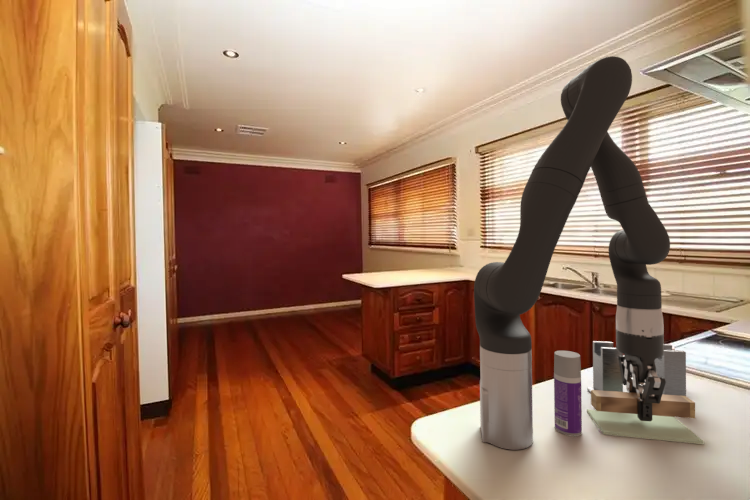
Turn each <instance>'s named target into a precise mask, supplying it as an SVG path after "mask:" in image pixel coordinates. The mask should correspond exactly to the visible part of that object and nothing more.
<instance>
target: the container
mask: <svg viewBox="0 0 750 500" xmlns="http://www.w3.org/2000/svg"><path fill="white" fill-rule="evenodd" d="M553 353H554V355H553V356H554V358H553V359H554V361H553V363H554V364H553V365H554V366H553V371H554V372H553V396H554V398H553V399H554V400H553V403H554V409H553V410H554V428H555V430H556V431H557V432H559V433H560V434H562V435H566V436H568V437H579V436H580V435H582V432H583V422H582V420H583V417H582V414H583V413H582V412H583V411H582V405H583V404H582V369H581V368H582V367H581V364H582V363H581V355H580V354H579V353H578V352H576V351H575V352H574V351H570V350H556V351H554V352H553Z"/></svg>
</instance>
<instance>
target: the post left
mask: <svg viewBox="0 0 750 500" xmlns="http://www.w3.org/2000/svg"><path fill="white" fill-rule="evenodd" d="M618 356H624V354H623V353H621V352H619V351H618V350H617V348H616V347H614V342H612V341H604V340H603V341H602V340H601V341H600V340H598V341H597V340H593V341H592V373H593V374H592V377H593V378H592V380H593V381H592V384H593V385H592V387H588V386H587V388H586V389H587V391H588V393H590V394H591V390H601V391H617V392H624V385H623V383H622V377H621V371H620V366H619V360H618Z"/></svg>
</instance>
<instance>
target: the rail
mask: <svg viewBox="0 0 750 500" xmlns="http://www.w3.org/2000/svg"><path fill="white" fill-rule="evenodd" d="M642 394H643V392H642ZM637 400H638V399H637V393H632V392H628V391H623V392H617V391H601V390H591V393H590V405H591V406H592V408H593V409H594V410H596V411H604V412H617V413H630V414H637ZM652 415H656V416H669V417H675V418H683V419H687V418H688V419H696V402H695V401H693V400H692V399H690V398H689V397H688V396H687V395H686V396H679V395H664V394H662V397H661V401H660V403H659V404H656V403H652Z"/></svg>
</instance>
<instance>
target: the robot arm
mask: <svg viewBox="0 0 750 500" xmlns="http://www.w3.org/2000/svg"><path fill="white" fill-rule="evenodd" d="M632 84H633V74H632V69H631V67H630V64H628V62H627V61H626V60H625V59H624V58H622V57H619V56H614V55H611V56H605V57H602V58H600V59H598V60H596V61H594V62H592V63H590V64H589V65H588V66H587V67H585V68H584V69H582V70H581V71H580V72H579V73H578V74H576V75H575V76H574V77H573V78H571V79H570V80H569V81H568V82H567V83H565V85H564V87H563V88H562V91H561V93H560V106H561V108H562V111H563V113H564V116H565V118H566V120H567V121H566V123H565V124H564V126H563V127H562V129H561V130H560V131H559V133H558V134H557V135H555V137H554V139H553V140H552V141H551V143H550V144H549V145H548V146H547V148H546V149H545V150H544V151H543V153H542V155H541V156H540V157H539V159H538V161H537V162H536V163H535V165H534V167H533V169H532V170H531V173H530V175H529V178H527V182H526V184H525V186H524V188H523V191H522V194H521V199H520V209H519V210H520V212H519V213H520V217H519V224H520V225H519V230H518V233H517V237H516V240H515V242H514V243H513V246H512V248H511V250H510V252H509V254H508V255H507V258H506V260H505V261H504V262H502V261H493V262H489V263H486V264H485V265H483V266H482V267H481V268H480V269H479V270H478V272H477V274H476V276H475V279H474V285H473V287H474V288H473V301H474V317H475V327H476V331H477V333H478V336H479V362H480V363H479V366H480V368H479V369H480V370H479V371H480V380H479V406H480V407H479V408H480V410H479V412H480V413H479V414H480V415H479V416H480V419H479V420H480V432H481V441H482V442H483V443H489V444H491V445H493V446H495V447H498V448H501V449H506V450H518V451H519V450H523V449H527V448H529V447H531V445H532V444H533V442H534V424H533V423H534V421H533V412H534V411H533V365H532V364H533V362H532V361H533V356H532V353H533V352H532V335H531V333H530V332H529V331H528V329H527V328H526V327H525V325H524V323H523V321H522V319H521V315H523V314H525V313H527V312H528V311H530V310H531V309H532V308H533V307H534V305H535V304H536V303H537V301H538V299H539V296H540V294H541V292H542V289H543V285H544V282H545V280H546V277H547V274H548V270H549V267H550V263H551V260H552V258H553V254H554V252H555V249H556V247H557V245H558V242H559V240H560V237H561V235H562V234H563V230H564V228H565V225H566V223H567V221H568V218H569V216H570V214H571V212H572V210H573V209H574V206H575V204H576V202H577V199H578V198H579V195H580V193H581V191H582V188H583V186H584V184H585V182H586V181H585V180H586V178H587V176H588V173H589V172H590V170H592V173H593V176H594V179H595V182H596V184H597V188H598V191H599V194H600V198H601V202H602V204H603V209H604V211H605V214H606V216H607V217H608V218H610V219H611V220H614V221H616V222H617V223H619V224H620V227H621V228H622V229H621V230H619V231H617V232H615V233H614V234H613V235H612V237H611V238H610V241H609V243H608V257H609V258H608V259H609V262H610V266H611V270H612V274H613V276H614V279H615V283H616V310H615V311H616V313H615V342H616V343H615V348H617V350H618V351H619V352H621V353H623V356H618V360H619V366H620V371H621V377H622V383H623V386H625V387H626V388H625V389H626V392H632V393H637V399H638V400H637V417H638V418H639V419H640V420H641V421H652V403H656V404H659V403H660V401H661V397H662V394H663V390H664V387H665V384H666V381H665V379H664V378H663V377H658V376H657V373H656V366H655V361H654V360H655V359H656V358H659V357H662V356H663V355H664V344H665V341H664V340H665V339H664V337H665V335H664V332H665V331H664V330H665V329H664V328H665V327H664V323H665V322H664V316H663V315H664V314H663V311H662V305H663V304H662V285H661V282H660V281H659V279H657V278H656V277H653V276H652V275H650V274H649V271H648V268H647V266H649V265H650V266H651V265H656V264H660V263H662V262H663V261H664V260H666V258H667V257H668V255H669V253H670V249H671V240H670V235H669V233H668V230H667V229H666V227H665V226H664V224H663V222H662V221H661V219H660V217H659V216H658V214H657V213H656V211H655V209H654V208H652V206H651V204H650V203H649V201H648V196H647V193H646V189H645V185H644V183H643V182H644V181H643V180H642V176H641V173H640V171H639V169H638V166H637V165H636V164H635V163H634V161H633V160H632V158H630V157H629V155H627V154H626V153H625V152H624V151H623V150H622V149H621V147H619V146H618V145H617V143H615V141H614V140H613V138H612V137H611V135H610V134H609V132H608V131H609V130H610V128H611V126H612V124H613V122H614V120H615V119H616V117H617V115H618V114H619V112H620V110H621V109H622V107H623V105H624V104H625V102H626V100H627V98H628V96H629V94H630V92H631V89H632ZM642 393H643V394H642Z"/></svg>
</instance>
